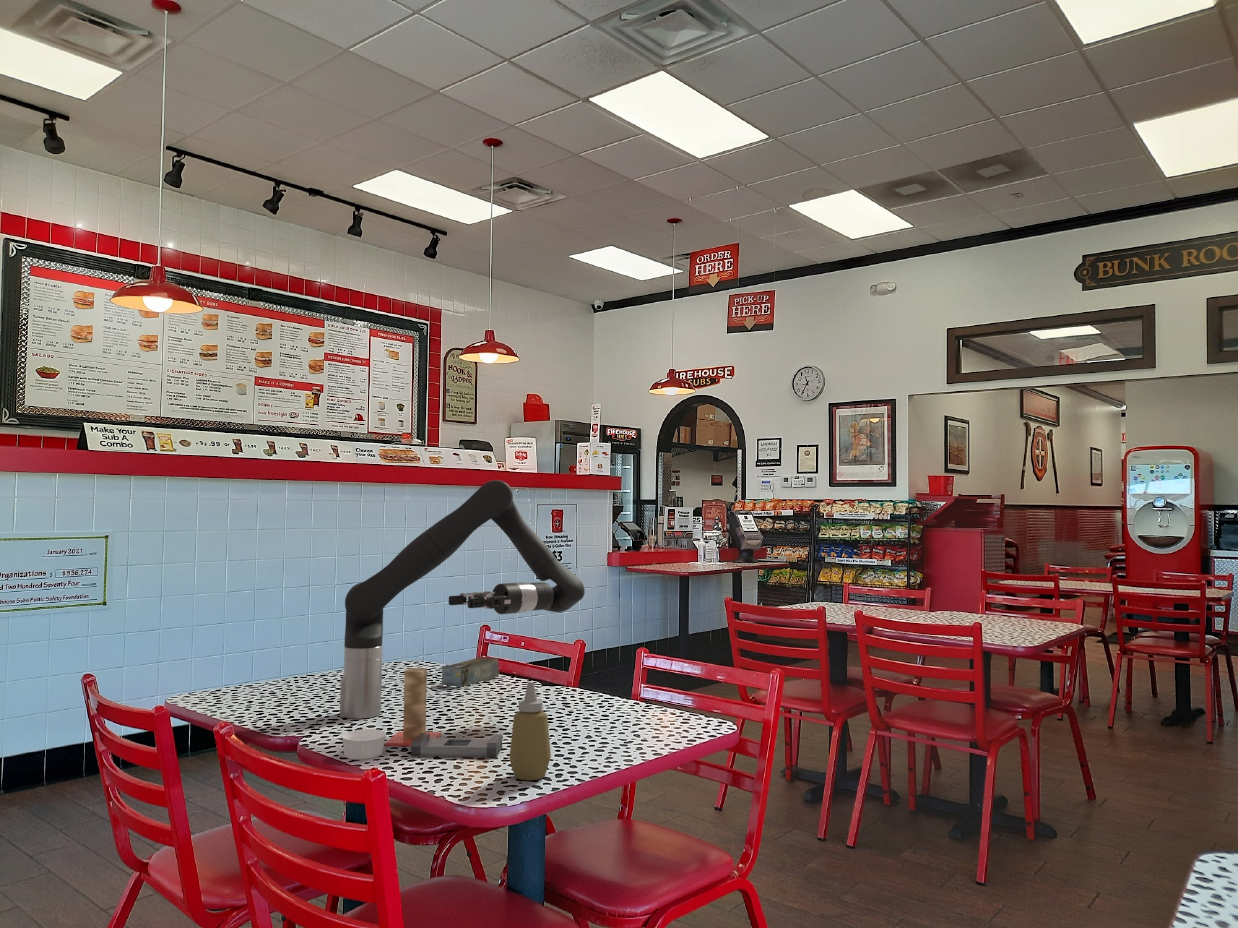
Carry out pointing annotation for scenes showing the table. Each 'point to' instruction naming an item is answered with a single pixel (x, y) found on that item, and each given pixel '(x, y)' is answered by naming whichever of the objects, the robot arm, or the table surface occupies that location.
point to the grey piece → (456, 746)
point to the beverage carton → (470, 672)
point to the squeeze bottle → (530, 738)
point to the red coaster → (398, 740)
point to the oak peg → (414, 702)
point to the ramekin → (363, 744)
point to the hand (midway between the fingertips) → (458, 602)
